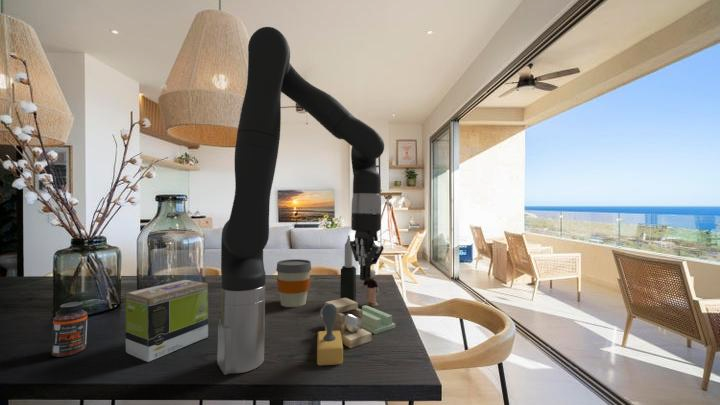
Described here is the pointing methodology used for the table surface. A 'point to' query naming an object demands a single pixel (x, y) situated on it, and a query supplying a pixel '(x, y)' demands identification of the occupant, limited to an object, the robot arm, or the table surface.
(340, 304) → the beige block
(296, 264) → the reusable coffee cup
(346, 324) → the axle
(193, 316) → the tea box
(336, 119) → the robot arm
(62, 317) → the supplement bottle
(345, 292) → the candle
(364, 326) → the cradle
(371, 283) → the grandmother figurine
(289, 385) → the table surface
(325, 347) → the rubber stamp
